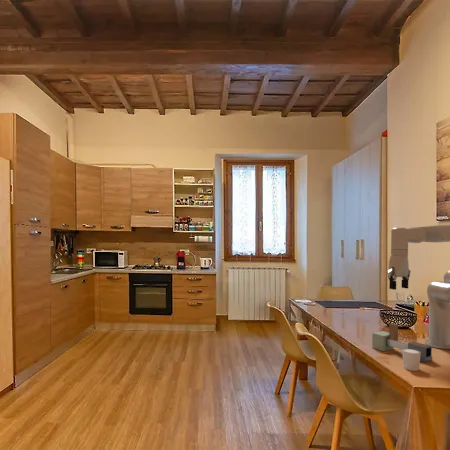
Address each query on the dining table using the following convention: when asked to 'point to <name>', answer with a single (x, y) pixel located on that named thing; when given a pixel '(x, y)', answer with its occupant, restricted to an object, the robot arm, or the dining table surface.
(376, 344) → the socket block
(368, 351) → the dining table surface
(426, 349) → the sleeve
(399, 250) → the robot arm
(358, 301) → the dining table surface
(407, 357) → the shot glass
